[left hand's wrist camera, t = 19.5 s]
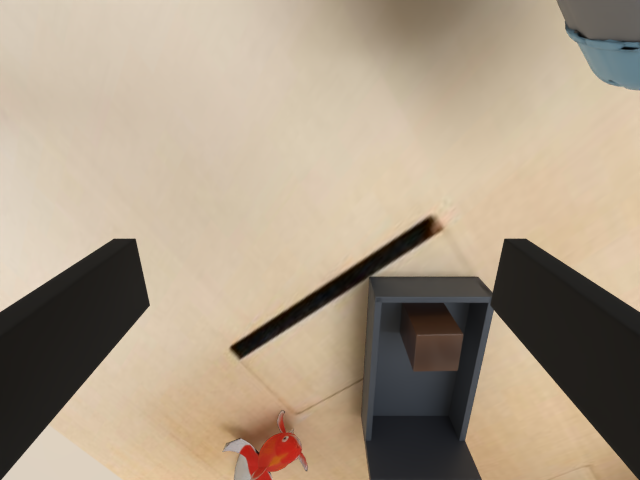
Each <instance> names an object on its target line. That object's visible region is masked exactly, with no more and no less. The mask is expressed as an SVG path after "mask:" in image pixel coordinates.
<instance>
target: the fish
mask: <svg viewBox="0 0 640 480" xmlns="http://www.w3.org/2000/svg"><path fill="white" fill-rule="evenodd" d="M284 413H285V411H281V412H280V414H279V416H278V419H277V424H278V427H279V429H280V431H281V433H279V434H276V435H274V436H272V437H271V438H269V439H268V440H267V441H266V442H265V444H264V445H263V447H262V448H261V450H260V453H259V452H258V451H257V450H256V449H255V448H254V447H253V446H252V445H251V444H250V443H248V442H247V441H245V440H243V439H241V438H239V439H237V440H234V441H231V442H230V443H226V445H225V447H224V449H223V452H224V451H234V452H237V453H239V454H240V455H239V458H238V461H237V464H236V467H235V474H234V480H273V479H272V476H271V473H270V472H274V471H278V470H280V469H283V468H285V467H286V466H287V465H288V464H289V463H291V462H292V461H294V460H297V459H298V457H299V460H300V462H301V463H302V465H303V467H304V469H305V471H307V469H308V466H307V463H306V459H305V457H304V455H303V454H302V453H301V451H302V446H301V442H300V440H299V438H298V437H297V436H296V435H295V434H293V432H294V429H292V430H291V431H290V432H288V433H286V430H285V427H284V422H283V414H284Z"/></svg>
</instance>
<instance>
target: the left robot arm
mask: <svg viewBox="0 0 640 480" xmlns="http://www.w3.org/2000/svg"><path fill="white" fill-rule="evenodd" d="M557 2H558V5H559V7H560V9H561V12H562V14H563V16H564V19H565V29H566V32H567V34H568V35H569V37H570V38H572V39H573V40H574V41H575V42H577V43H578V45H579V47H580V49H581V51H582V53H583V54H584V56H585V58H586V60H587V62H588V64H589V66H590V68H591V69H592V71H593V72H594V74H595V75H596V76H597V77H598V78H599V79H601V80H602V81H604V82H606V83H607V84H611V85H615V86H620V87H625V88H626V89H630V90H640V0H557ZM149 306H150V304H149V299H148V294H147V290H146V285H145V280H144V276H143V271H142V266H141V262H140V257H139V252H138V248H137V243H136V239H113V240H111V241H110V242H108V243H107V244H105V245H104V246H102V247H101V248H99V249H97V250H96V251H94V252H93V253H91V254H90V255H88V256H87V257H85V258H83V259H82V260H80V261H79V262H77V263H76V264H74V265H73V266H71V267H70V268H68V269H66V270H65V271H63V272H62V273H60V274H59V275H57V276H56V277H54V278H53V279H51V280H49V281H48V282H46V283H45V284H43V285H42V286H40V287H39V288H37V289H35V290H34V291H32V292H31V293H29V294H28V295H26V296H25V297H23V298H22V299H20V300H18V301H17V302H15V303H14V304H12V305H11V306H9V307H8V308H6V309H5V310H3V311H1V312H0V480H1V479H2V478H3V477H4V476H5V475H6V473H7V472H8V471H9V470H10V469H11V468H12V466H13V465H14V464H15V463H16V462H17V460H18V459H19V458H20V457H21V456H22V455H23V454H24V452H25V451H26V450H27V449H28V448H29V446H30V445H31V444H32V443H33V442H34V441H35V439H36V438H37V437H38V436H39V435H40V434H41V432H42V431H43V430H44V429H45V428H46V427H47V425H48V424H49V423H50V422H51V421H52V420H53V418H54V417H55V416H56V415H57V414H58V412H59V411H60V410H61V409H62V408H63V407H64V405H65V404H66V403H67V402H68V401H69V400H70V398H71V397H72V396H73V395H74V394H75V393H76V391H77V390H78V389H79V388H80V387H81V386H82V384H83V383H84V382H85V381H86V380H87V378H88V377H89V376H90V375H91V374H92V373H93V371H94V370H95V369H96V368H97V367H98V366H99V364H100V363H101V362H102V361H103V360H104V359H105V357H106V356H107V355H108V354H109V353H110V351H111V350H112V349H113V348H114V347H115V346H116V344H117V343H118V342H119V341H120V340H121V339H122V337H123V336H124V335H125V334H126V333H127V332H128V330H129V329H130V328H131V327H132V326H133V325H134V323H135V322H136V321H137V320H138V319H139V317H140V316H141V315H142V314H143V313H144V312H145V310H146V309H147V308H148V307H149ZM490 306H491V307H492V308H493V309H494V310H495V312H496V313H497V314H498V315H499V316H500V317H501V319H502V320H503V321H504V322H505V323H506V325H507V326H508V327H509V328H510V329H511V330H512V332H513V333H514V334H515V335H516V336H517V337H518V339H519V340H520V341H521V342H522V343H523V344H524V346H525V347H526V348H527V349H528V350H529V351H530V353H531V354H532V355H533V356H534V357H535V359H536V360H537V361H538V362H539V363H540V364H541V366H542V367H543V368H544V369H545V370H546V371H547V373H548V374H549V375H550V376H551V377H552V378H553V380H554V381H555V382H556V383H557V384H558V386H559V387H560V388H561V389H562V390H563V391H564V393H565V394H566V395H567V396H568V397H569V398H570V400H571V401H572V402H573V403H574V404H575V405H576V407H577V408H578V409H579V410H580V411H581V412H582V414H583V415H584V416H585V417H586V418H587V420H588V421H589V422H590V423H591V424H592V425H593V427H594V428H595V429H596V430H597V431H598V432H599V434H600V435H601V436H602V437H603V438H604V439H605V441H606V442H607V443H608V444H609V445H610V447H611V448H612V449H613V450H614V451H615V452H616V454H617V455H618V456H619V457H620V458H621V459H622V461H623V462H624V463H625V464H626V465H627V466H628V468H629V469H630V470H631V471H632V472H633V474H634V475H635V476H636V477H637V478H638V479H639V480H640V312H639V311H637V310H635V309H634V308H632V307H631V306H629V305H628V304H626V303H625V302H623V301H622V300H620V299H618V298H617V297H615V296H614V295H612V294H611V293H609V292H608V291H606V290H605V289H603V288H601V287H600V286H598V285H597V284H595V283H594V282H592V281H591V280H589V279H587V278H586V277H584V276H583V275H581V274H580V273H578V272H577V271H575V270H574V269H572V268H570V267H569V266H567V265H566V264H564V263H563V262H561V261H560V260H558V259H557V258H555V257H553V256H552V255H550V254H549V253H547V252H546V251H544V250H543V249H541V248H539V247H538V246H536V245H535V244H533V243H532V242H530V241H529V240H527V239H504V243H503V248H502V252H501V257H500V262H499V266H498V271H497V276H496V280H495V285H494V290H493V294H492V299H491V304H490Z"/></svg>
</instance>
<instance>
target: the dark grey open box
mask: <svg viewBox="0 0 640 480" xmlns="http://www.w3.org/2000/svg"><path fill="white" fill-rule="evenodd" d="M492 294H493V293H492V291H491V290H490V289H489V288H488V287H487V286H486V285H485V284H484V283H483V282H482V281H481V280H480V278H479V277H370V278H369V295H368V311H367V328H366V344H365V361H364V377H363V394H362V410H361V419H362V426H363V434H364V442H365V449H366V457H367V464H368V472H369V479H370V480H482V479H481V477H480V475H479V472H478V470H477V468H476V465H475V463H474V461H473V458H472V456H471V454H470V451H469V449H468V447H467V444H466V442H465V438H466V433H467V429H468V424H469V419H470V415H471V410H472V406H473V401H474V397H475V392H476V388H477V383H478V379H479V374H480V370H481V365H482V361H483V356H484V352H485V347H486V342H487V338H488V333H489V329H490V324H491V320H492V315H493V311H494V309H493V308H492V307H491V306H490V304H491V299H492ZM402 303H444V304H445V306H446V307H447V309H448V310H449V312H450V314H451V315H452V317H453V318H454V320H455V322H456V323H457V325H458V326H459V328H460V330H461V331H462V333H463V340H462V346H461V353H460V359H459V365H458V371H418V372H414V371H413V369H412V366H411V364H410V361H409V358H408V355H407V352H406V349H405V346H404V344H403V341H402V338H401V335H400V323H401V310H402Z"/></svg>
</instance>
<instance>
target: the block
mask: <svg viewBox="0 0 640 480" xmlns="http://www.w3.org/2000/svg"><path fill="white" fill-rule="evenodd" d="M400 335H401V338H402V341H403V344H404V346H405V349H406V352H407V355H408V358H409V361H410V364H411V366H412V369H413V371H414V372H418V371H458V365H459V359H460V353H461V346H462V340H463V333H462V331H461V330H460V328H459V326H458V325H457V323H456V322H455V320H454V318H453V317H452V315H451V314H450V312H449V310H448V309H447V307H446V306H445V304H444V303H402V310H401V323H400Z"/></svg>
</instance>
